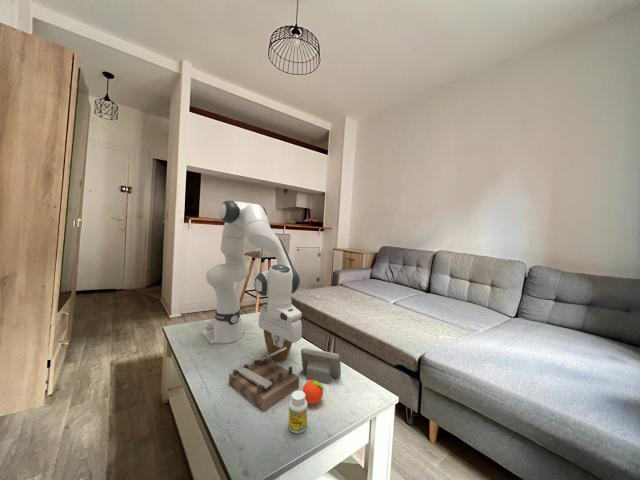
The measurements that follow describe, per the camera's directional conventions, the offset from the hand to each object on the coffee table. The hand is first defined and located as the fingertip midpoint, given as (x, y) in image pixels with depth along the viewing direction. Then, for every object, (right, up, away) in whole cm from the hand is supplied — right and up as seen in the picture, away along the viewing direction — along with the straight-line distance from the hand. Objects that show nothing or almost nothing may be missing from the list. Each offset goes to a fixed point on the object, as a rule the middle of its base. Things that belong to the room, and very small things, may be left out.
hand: (278, 345), depth 91 cm
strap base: (-5, -14, -2) cm, 15 cm away
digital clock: (+16, -15, +6) cm, 22 cm away
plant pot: (-3, -13, +18) cm, 23 cm away
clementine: (+14, -15, -9) cm, 22 cm away
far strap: (-3, -5, +2) cm, 6 cm away
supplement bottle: (+9, -16, -19) cm, 26 cm away
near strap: (-8, -9, -5) cm, 13 cm away
